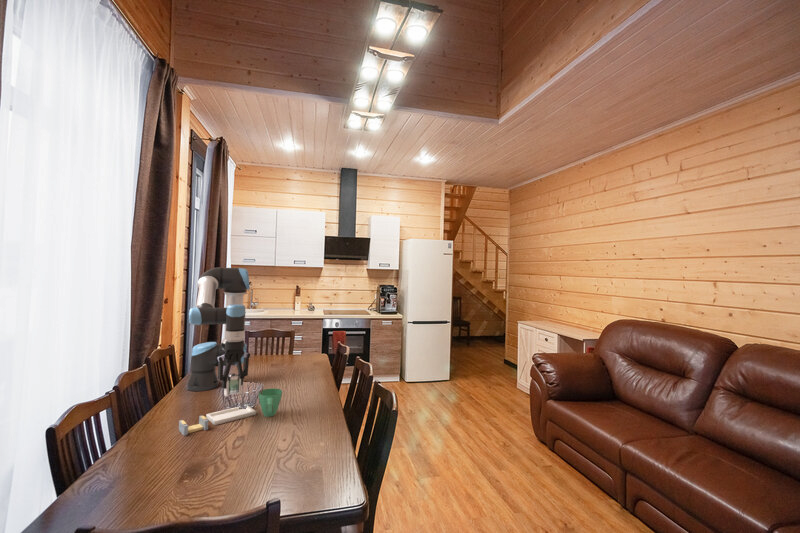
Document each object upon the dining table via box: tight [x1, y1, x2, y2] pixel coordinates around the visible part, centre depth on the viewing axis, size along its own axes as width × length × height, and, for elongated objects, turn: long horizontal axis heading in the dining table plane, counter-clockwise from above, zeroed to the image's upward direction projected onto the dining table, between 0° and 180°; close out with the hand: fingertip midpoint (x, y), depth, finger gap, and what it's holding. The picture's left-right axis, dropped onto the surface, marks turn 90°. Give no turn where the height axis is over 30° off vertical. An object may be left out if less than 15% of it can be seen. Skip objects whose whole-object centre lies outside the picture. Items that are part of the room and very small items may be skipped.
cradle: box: [178, 415, 209, 437], centre depth 141 cm, size 7×8×4 cm
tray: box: [205, 405, 257, 426], centre depth 155 cm, size 10×17×2 cm, turn 136°
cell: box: [227, 373, 239, 395], centre depth 156 cm, size 4×4×8 cm
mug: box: [258, 387, 283, 418], centre depth 157 cm, size 15×10×10 cm
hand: (232, 394), depth 156 cm, fingers closed on cell, 4 cm apart
